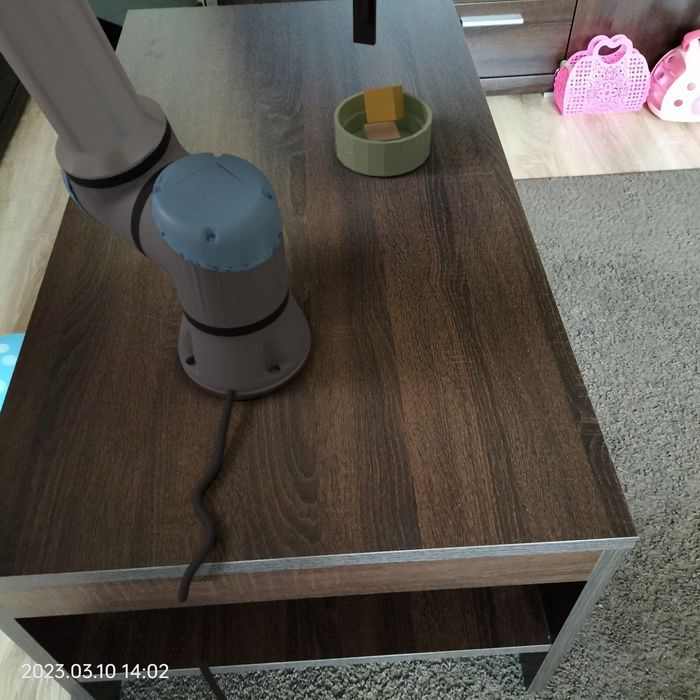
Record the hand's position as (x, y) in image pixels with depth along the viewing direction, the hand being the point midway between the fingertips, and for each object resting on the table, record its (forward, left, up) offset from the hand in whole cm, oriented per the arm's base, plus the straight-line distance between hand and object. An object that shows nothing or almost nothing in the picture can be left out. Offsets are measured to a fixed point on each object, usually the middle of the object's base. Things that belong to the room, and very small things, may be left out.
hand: (380, 18), depth 93 cm
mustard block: (+4, -1, -17) cm, 17 cm away
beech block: (-1, 0, -20) cm, 20 cm away
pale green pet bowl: (+1, 0, -21) cm, 21 cm away
